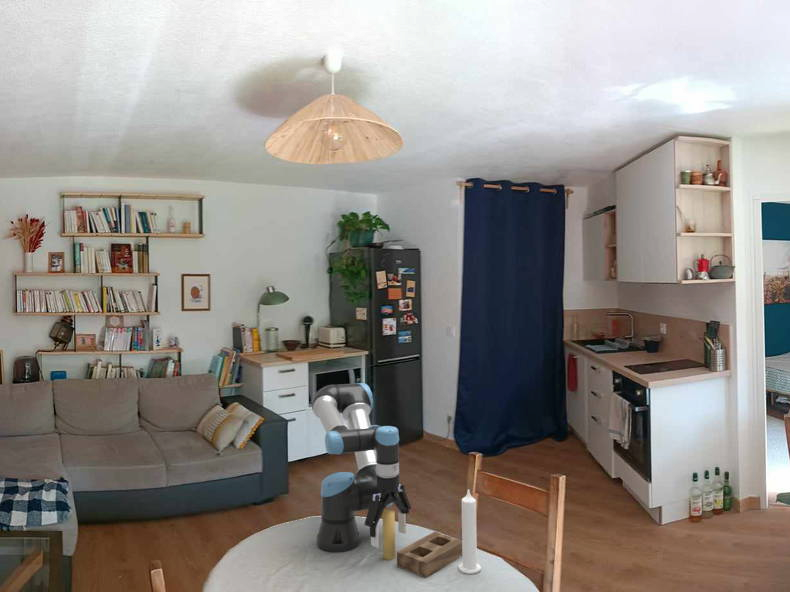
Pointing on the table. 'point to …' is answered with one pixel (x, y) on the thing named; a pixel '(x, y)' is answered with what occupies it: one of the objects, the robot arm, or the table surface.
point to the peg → (388, 534)
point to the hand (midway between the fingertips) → (388, 539)
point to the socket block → (429, 554)
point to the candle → (469, 536)
